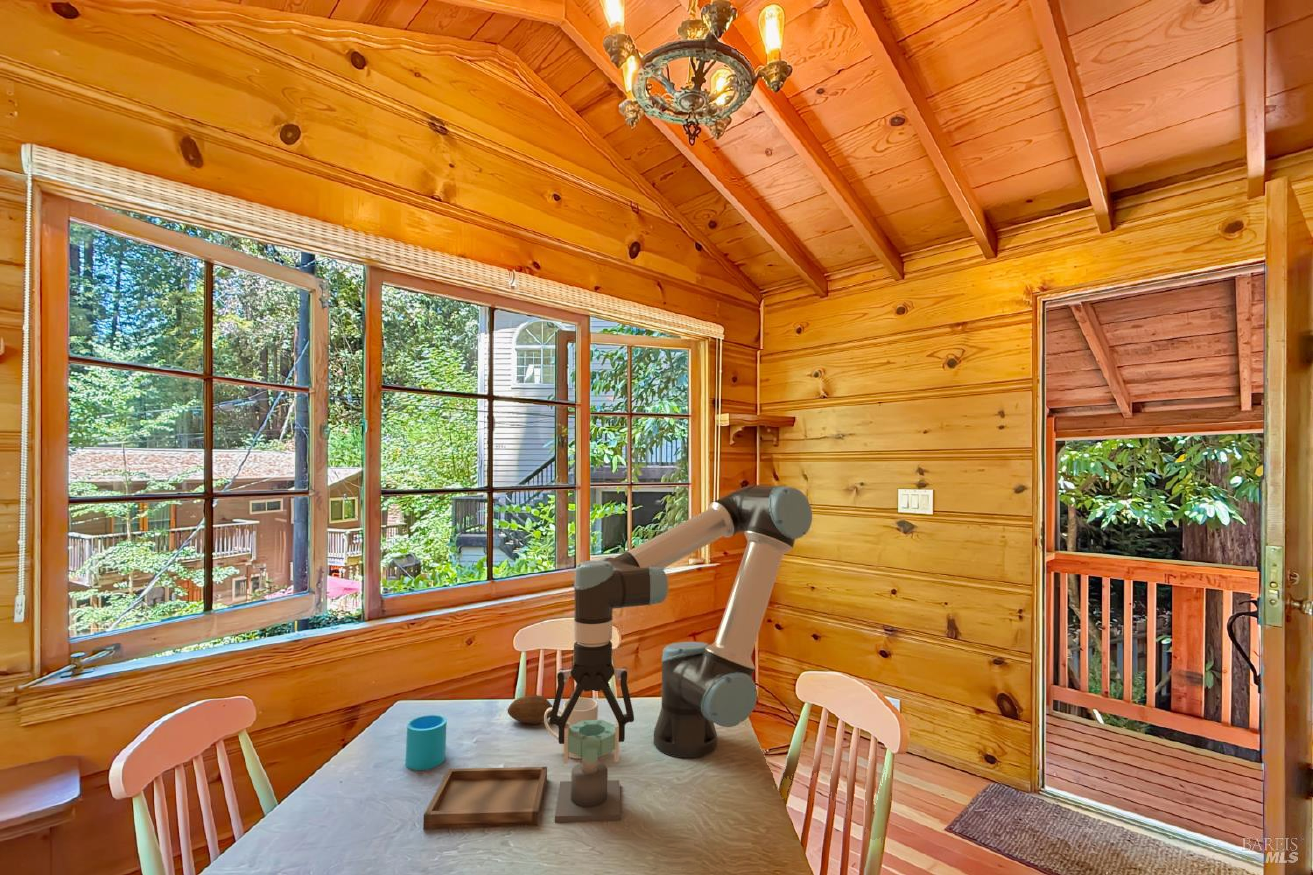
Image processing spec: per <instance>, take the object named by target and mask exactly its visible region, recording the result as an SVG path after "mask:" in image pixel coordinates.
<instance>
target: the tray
mask: <svg viewBox="0 0 1313 875" xmlns="http://www.w3.org/2000/svg"><path fill="white" fill-rule="evenodd" d="M547 779H548V766H521V767H520V766H516V767H515V766H514V767H513V766H512V767H475V768H473V767H472V768H471V767H469V768H467V767H466V768H448V769H447V771H446V773H445V775H444V776H443V778H442V780H441V782H440V784H439V786H438V788H437V790H436V791H435V793H434V795H433V796H432V799H431V801H430V802H429V804H428V806H427V807H426V810H425V811H424V813H423V826H422V829H423V830H437V829H438V830H442V829H446V830H447V829H471V828H472V829H474V828H475V829H476V828H479V829H480V828H508V827H509V828H510V827H512V828H513V827H537V826H538V823H539V819H540V814H541V810H542V804H543V799H544V794H545V791H546V785H547Z"/></svg>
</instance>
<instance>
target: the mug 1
mask: <svg viewBox="0 0 1313 875" xmlns="http://www.w3.org/2000/svg"><path fill="white" fill-rule="evenodd" d="M447 720H448V719H447V718H446V717H445V716H442V715H440V714H439V715H438V714H429V715H428V714H426V715H422V716H418V717H416V718H415V717H414V718H413V719H411V720H410V721H408V723H407V724H406V726H407V727H406V744H405V745H406V746H405V766H406V768H408V769H410V770H415V771H423V770H430V769H433V768H436V767H437V766H439V765H441V764H442V763H443V762H445V760H446V748H447V746H446V744H447Z"/></svg>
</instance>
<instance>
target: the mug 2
mask: <svg viewBox="0 0 1313 875" xmlns="http://www.w3.org/2000/svg"><path fill="white" fill-rule="evenodd" d="M568 701H569V699H568V700H566V701H565V702H564V703H563V708H562V709H561V708H559V710H558V713H559V714H560V715H562V713H563V711H564V709H565V707H566V705H567V703H568ZM552 708H553V706H552V707H551V708H548V709H547V710H546V712H545V715H544V722H543V723H544V726H545V728H546V730H547V732H548V733H549V734H550V735H551V736H553V737H554V738H555V739H557V740H558V741H559V734H557V733H556V732H554V730H553V729H551V727H550V725H549V723H548V719H547V714H548V712H550V711H552ZM598 712H599V703H598V701H597V700H595V699H593V698H589V697H579V698H578V700H577V702H576V704H575V706H574V708H573V710H572V712H571V714H570V716H569V718H568V720H567V722H569V727H570V726H571V725H574V724H576V723H578V722H581V721H584V720H598V717H599V716H598V714H599V713H598ZM561 745H562V746H561V751H562V752H561V753H562V754H563V755H564V744H561ZM569 759H576V760H577V759H582V757H579V756H577V755H575V754H573V753H571V752H569Z"/></svg>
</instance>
